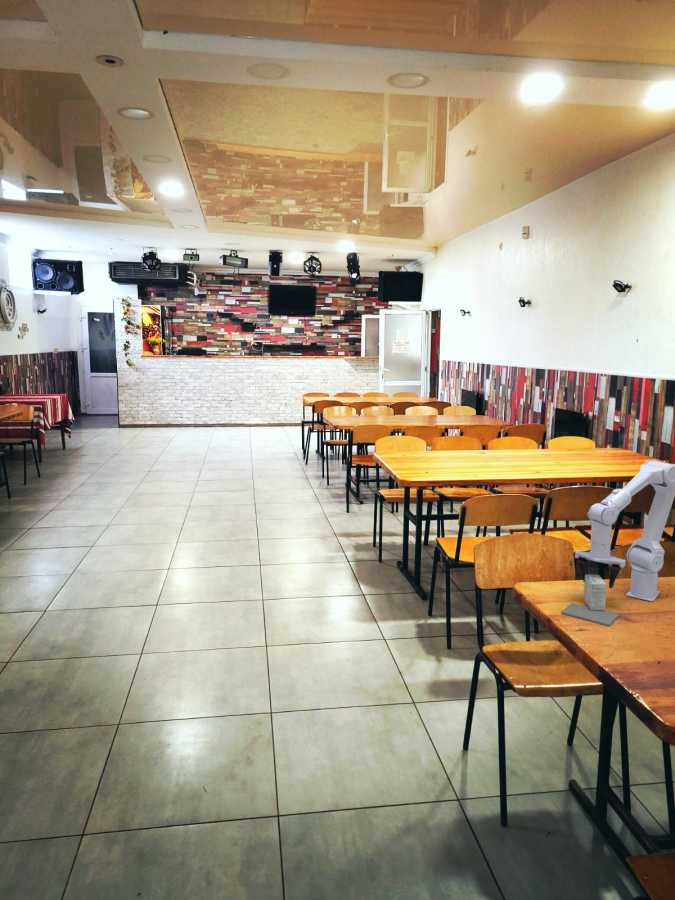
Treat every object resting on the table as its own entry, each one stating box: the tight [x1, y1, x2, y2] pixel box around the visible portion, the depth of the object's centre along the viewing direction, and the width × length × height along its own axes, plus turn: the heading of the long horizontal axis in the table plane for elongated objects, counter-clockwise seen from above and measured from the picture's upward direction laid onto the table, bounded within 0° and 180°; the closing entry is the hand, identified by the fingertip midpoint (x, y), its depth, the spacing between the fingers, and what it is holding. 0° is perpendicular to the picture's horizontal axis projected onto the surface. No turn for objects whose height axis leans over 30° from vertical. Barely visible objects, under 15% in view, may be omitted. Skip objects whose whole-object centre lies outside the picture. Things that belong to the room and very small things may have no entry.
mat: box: [560, 602, 620, 627], centre depth 180 cm, size 9×14×1 cm, turn 49°
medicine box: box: [583, 573, 607, 611], centre depth 184 cm, size 8×4×9 cm, turn 172°
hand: (598, 584), depth 187 cm, fingers open, 7 cm apart
